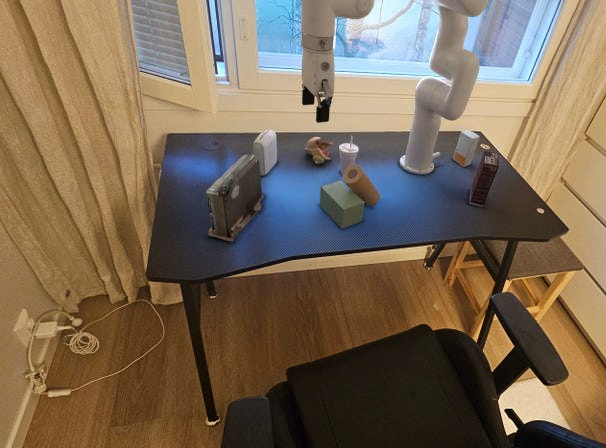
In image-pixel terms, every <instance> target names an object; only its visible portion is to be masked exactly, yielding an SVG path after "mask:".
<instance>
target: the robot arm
mask: <svg viewBox="0 0 606 448" xmlns="http://www.w3.org/2000/svg"><path fill="white" fill-rule="evenodd" d="M375 1H376V0H301V6H300V7H301V9H300V11H301V12H300V13H301V14H300V16H301V17H300V19H301V20H300V48H302V57H301V82H302V83H301V88H302V90H301V104H302V106H313V105H315V101H316V102H317V106H316V108H315V109H316V110H315V122H316V123H317V124H318V123H319V124H320V123H321V124H322V123H329V121H330V111H331V106H332V103H333V101H332V100H333V98H334V94H335V71H336V70H335V69H336V68H335V67H336V66H335V56H334V55H335V54H334V52H335V48H336V37H337V36H336V34H337V19H338V18H342V19H350V20H362V19H364V18H366V17H368V16H369V15H370V14H371V13H372V11H373V9H374V7H375ZM434 2H435V5H436V7H437V10H438V15H439V23H438V27H437V31H436V35H435V39H434V42H433V46H432V49H431V52H430V56H429V60H428V61H429V62H428V66H429V68H430V70H431V71H432V72H433V73H434V74H437V75H438V76H440V77H442V78H444V79H446V80H448V81H450V82H451V84H450V83H449V82H446V81H444V80H442V79H441V78H439V77H435V76H432V75H431V76H430V75H428V76H424V77H422V78H421V79H419V81H418V83H417V84H416V87H415V90H414V108H413V109H414V110H413V117H412V121H411V126H410V131H409V136H408V140H407V144H406V151H405V154H403V155H402V156H400V158H399V166H400V167H401V168H402V169H403V170H405V171H406V172H407V173H411V174H415V175H421V176H423V175H429V174H430V173H432V172H433V171H434V169H435V163H434V162H433V161H434V160H435V159H438V158H440V157H441V153H440V152H439V151H437V152H435V153H434V151H435V148H436V144H437V141H438V136H439V133H440V129H441V125H442V118H443V119H444V120H448V121H457V120H458V119H459V118H461V116H462V115H463V114H464V112H465V110H466V108H467V107H468V104H469V101H470V98H471V96H472V93H473V90H474V88H475V84H476V82H477V79H478V75H479V73H480V59H479V57H478V56H477V55H476V53H474V52H472V51H470V50H468V49H466V48H465V47H464V45H465V41H466V38H467V34H468V31H469V18H475V17H478V16H480V15H482V14H483V12H484V11H485V10H486V9H487V6H488V4H489V0H434ZM322 98H323V99H322Z"/></svg>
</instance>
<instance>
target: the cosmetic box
mask: <svg viewBox="0 0 606 448" xmlns="http://www.w3.org/2000/svg"><path fill="white" fill-rule="evenodd" d="M480 139H481V136H480V135H478V134H477V133H475V131H474V132H473V131H472V130H470V129H465V130H461V132H460V134H459V138H458V141H457V144H456V147H455V150H454V154H453V156H452V160H453V161H455V163H458V164H459V165H460V166H462V167H463V168H464V167H467V166H470V165H471V164H472V161H473V159H474V155H475V153H476V150H477V147H478V144H479V141H480Z"/></svg>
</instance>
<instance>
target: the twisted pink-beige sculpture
mask: <svg viewBox="0 0 606 448" xmlns="http://www.w3.org/2000/svg"><path fill="white" fill-rule="evenodd" d="M334 145H335V143H334V142H333V141H331V142H327V141H322V137H319V136H314V137H312V138H310V139H309V140H308V141H307V142H306V147H305V148H303V150H304V151H305V152H306V153H307V154H309V155H311V156H312V161H314V164H315V165H320V164H324V163H325V161H331V160H332V158H330V157H329V156H331V155H332V152H331V151H330V150H328V151H327V152H325V151H326V150H327V148H329V147H333V146H334Z"/></svg>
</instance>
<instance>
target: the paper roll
mask: <svg viewBox="0 0 606 448" xmlns="http://www.w3.org/2000/svg"><path fill="white" fill-rule="evenodd" d="M342 180H343V182H344V184H345V185H346V186H348V187H349V188H350V189H351V190H352V191H353V192H354V193H355V194H356V195H357V196H358V197H359V198H360V199H362V200H363V201H364V202H365V203H364V207H368V208H370V207H375V206H376V205H377V204H378V203H379V201H380V199H381V194H380V192H379V190H378V189H377V188H376V186H375V185H374V184H373V182H372V181H371V179H370V178H369V176H368V175H367V174H366V172H365V171H364V169H363V168H362V167H361V166H360V165H359V164H354V165H352V166H349V167H348V168H347V169H346V170H345V171H344V173H343V175H342Z"/></svg>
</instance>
